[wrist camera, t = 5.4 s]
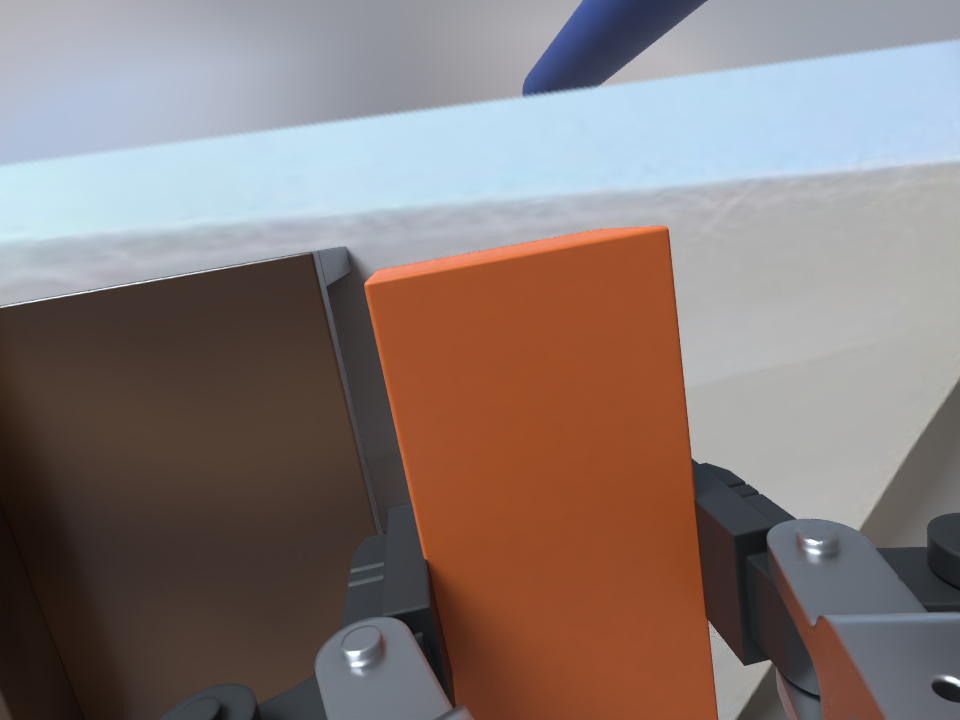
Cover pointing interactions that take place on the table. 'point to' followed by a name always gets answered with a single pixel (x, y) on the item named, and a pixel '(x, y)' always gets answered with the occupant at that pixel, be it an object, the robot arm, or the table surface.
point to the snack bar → (552, 474)
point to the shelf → (175, 489)
